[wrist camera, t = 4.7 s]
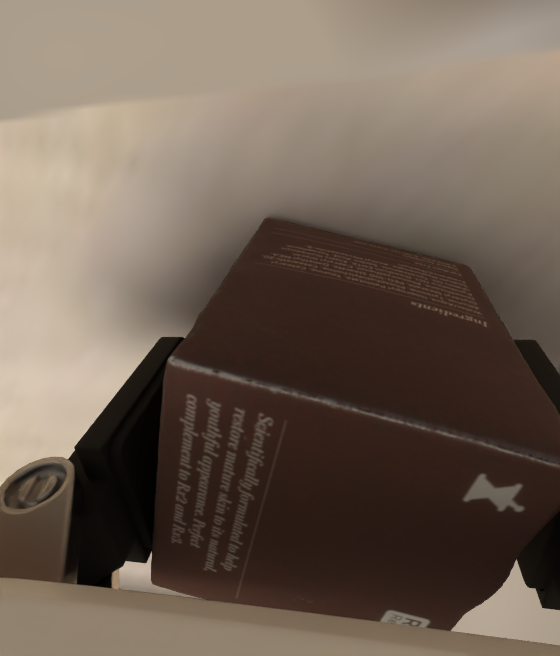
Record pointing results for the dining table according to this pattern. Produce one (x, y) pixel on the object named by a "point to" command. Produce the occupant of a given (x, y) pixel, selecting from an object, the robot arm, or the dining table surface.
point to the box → (350, 437)
